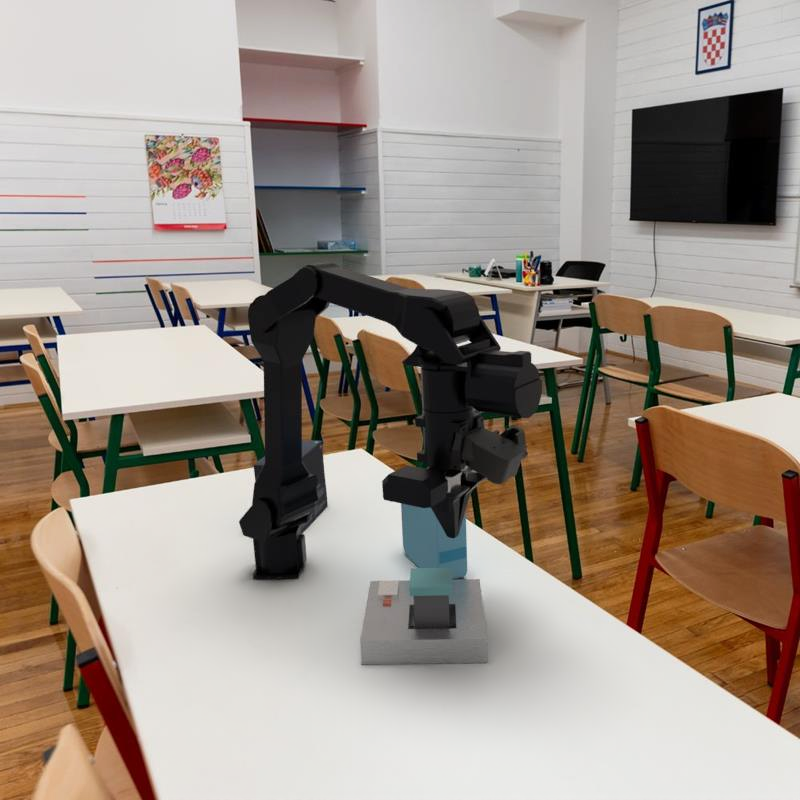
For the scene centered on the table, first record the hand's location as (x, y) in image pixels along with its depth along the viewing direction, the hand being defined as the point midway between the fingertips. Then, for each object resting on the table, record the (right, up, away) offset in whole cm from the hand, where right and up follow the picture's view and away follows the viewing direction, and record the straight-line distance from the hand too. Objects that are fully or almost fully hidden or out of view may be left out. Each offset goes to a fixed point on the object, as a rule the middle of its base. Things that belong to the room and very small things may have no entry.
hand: (452, 536), depth 90 cm
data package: (-1, -8, +20) cm, 22 cm away
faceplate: (-3, -12, +4) cm, 13 cm away
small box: (-23, -4, +39) cm, 45 cm away
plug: (-2, -12, +2) cm, 13 cm away
